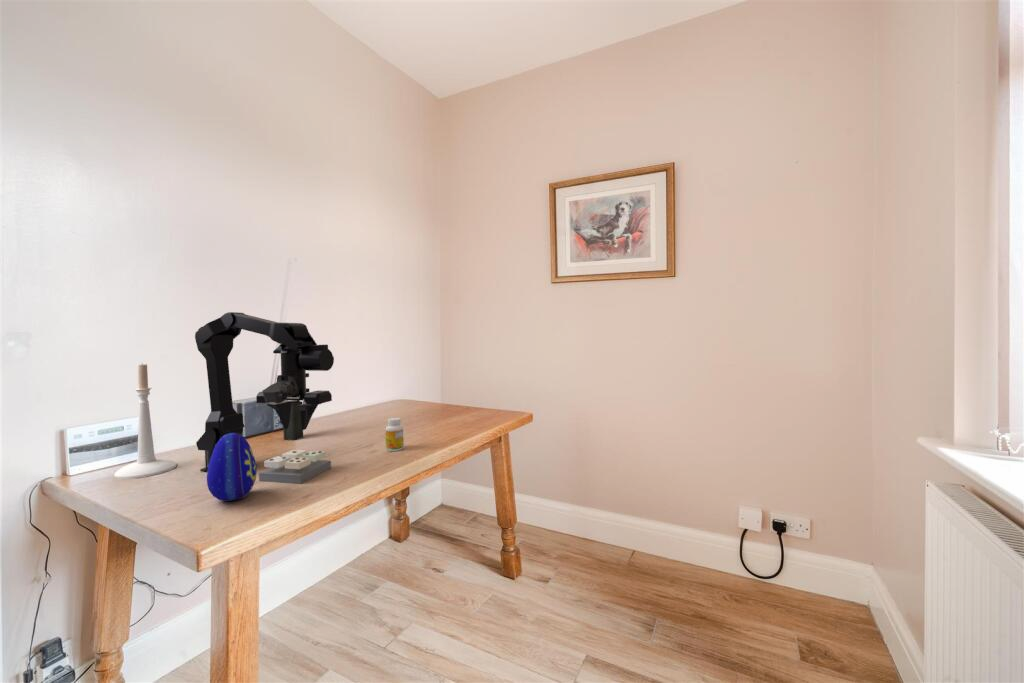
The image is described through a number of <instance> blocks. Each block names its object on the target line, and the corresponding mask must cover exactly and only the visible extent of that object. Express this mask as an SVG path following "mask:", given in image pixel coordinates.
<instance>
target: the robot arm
mask: <svg viewBox="0 0 1024 683" xmlns="http://www.w3.org/2000/svg"><path fill="white" fill-rule="evenodd" d="M242 330H243V331H248V332H251V333H255V334H260V335H264V336H267V337H268V338H270V340H272V341H273V342H275V343H277V344H279V345H278V346H277V347H276V348H275V349H274V350H273V352H272V354H280V371H281V372H280V373H281V374H279V375H277V376H276V382H275V383H272V384H270V385H269V386H268V387H266V388H264V389H262V391H258V393H257V394H256V400H255V401H256V404H266V405H267V406H268V407H270V408H271V409H273V410H274V411H275V412H276V414H277V416H278V418H279V421H280V423H281V425H282V427H284V429H288V427H289V423H290V414H291V405H292V401H288V400H300V401H302V404H301V405H297V406H298V408H299V409H300V410H301V426H302V430H303V431H305V430H306V429H307V428H308V425H309V424H310V421H311V419H312V418H313V415H314V413H315V411H316V410H317V408H318V406H319V405H321V404H324V403H329V402H332V401H333V399H332V398H333V396H332V393H331V392H330V390H313V391H310V388H307V378H309V377H310V373H309V371H311V372H315V371H316V372H318V371H319V372H320V371H323V372H327V371H330V370H331V369H332V367H333V366H334V362H335V357H334V355H333V353H332V351H331V349H329V345H328V344H317V342H316V341H315V339H314V337H313V336H312V335H311V333H310V332H309V329H308V326H307V325H306V324H304V323H301V322H299V323H298V322H278V321H274V320H269V319H266V318H262V317H257V316H253V315H249V314H245V313H244V312H235V311H234V312H232V311H229V312H226V313H224V314H223V315H221V316H220V317H217V318H216V319H214V320H211V321H209V322H207V323H206V324H204V325H203V326H201V327H200V328H198V329H197V331H195V334H194V339H195V343H196V349H197V350H198V352H200V354H201V355H202V356H203V358H204V359H205V364H206V373H207V374H206V375H207V382H208V383H207V384H208V391H209V392H208V393H209V403H210V413H209V415H208V416H207V419H206V420H205V423H204V427H205V428H204V432H203V434H202V435H201V436H200V438H198V440H197V441H196V447H197V450H198V451H204V460H205V461H204V463H205V467H202V468H200V469H199V470H200V472H207V471H208V466H209V462H210V459H211V456H212V453H213V450H214V448H215V446H216V444H217V442H218V441H219V440H220V438H221V437H223V436H224V435H226V434H229V433H237V434H240V435H242V434H243V432H244V428H245V427H246V426H245V424H244V414H243V413H241V412H240V413H238V412H237V411H236V410H235V408H234V405H233V396H232V384H231V376H230V366H229V355H230V354H231V352H232V350H233V348H234V339H236V338H237V337H238V336H239V335H241V332H242ZM306 371H308V372H306Z"/></svg>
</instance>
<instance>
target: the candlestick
mask: <svg viewBox="0 0 1024 683" xmlns="http://www.w3.org/2000/svg"><path fill="white" fill-rule="evenodd" d="M137 383H138V384H137V386H138V388H135V389H134V390H135V391H136V392H137V393H136V395H137V396H138V398H139V402H138V428H137V430H138V432H137V433H138V434H137V436H138V437H137V456H136V457H137V459H136V461H135V462H132V463H130V464H127V465H125V466H123V467H121V468H119V469H118V470H116V471H115V473H114V478H115V479H118V480H132V479H141V478H142V479H143V478H146V477H153V476H156V475H160V474H163V473H167V472H169V471H171V470H173V469H175V468H176V467H177V462H176V461H174V460H172V459H167V458H156V456H155V448H154V439H153V431H152V421H151V412H150V411H151V410H150V401H149V400H148V398H149V396H150V395H151V392H150V391H151V389H153V387H149V377H148V364H147V363H145V364H143V363H141V364H137Z"/></svg>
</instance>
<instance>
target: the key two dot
mask: <svg viewBox="0 0 1024 683" xmlns="http://www.w3.org/2000/svg"><path fill="white" fill-rule="evenodd" d="M289 460H291V457H282V455H281V456H277V455H276V456H273V457H271V458H269V459H266V460H264V462H263V463H264V465H263V466H264V468H280V467H282V466H284V465H285V462H287V461H289Z"/></svg>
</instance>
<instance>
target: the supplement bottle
mask: <svg viewBox="0 0 1024 683" xmlns="http://www.w3.org/2000/svg"><path fill="white" fill-rule="evenodd" d="M401 423H402V419H401V418H400V417H391V418H388V419H387V425H386V427H385V449H386V451H389V452H398V451H401V450H403V449H404V447H405V446H404V445H405V444H404V426H403V425H402V424H401Z"/></svg>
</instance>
